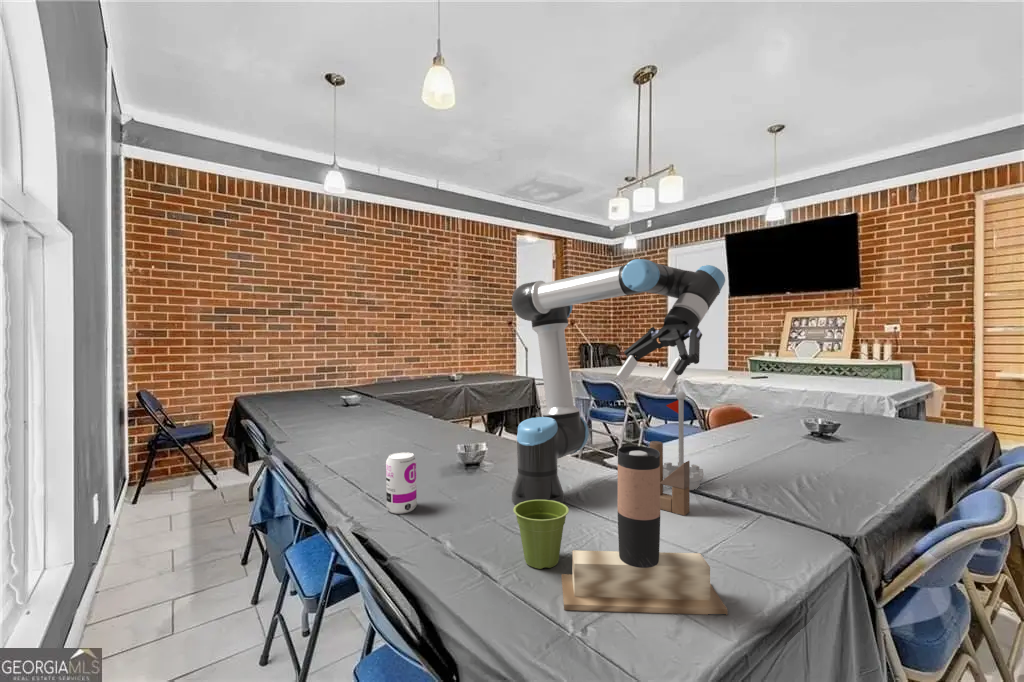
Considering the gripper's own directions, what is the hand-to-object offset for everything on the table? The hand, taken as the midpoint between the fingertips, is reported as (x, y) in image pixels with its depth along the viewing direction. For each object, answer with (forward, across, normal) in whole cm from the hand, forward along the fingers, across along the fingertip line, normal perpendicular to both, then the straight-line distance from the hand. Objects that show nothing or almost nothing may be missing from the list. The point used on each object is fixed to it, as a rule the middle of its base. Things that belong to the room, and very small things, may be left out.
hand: (642, 381), depth 102 cm
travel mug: (+33, -13, -11) cm, 37 cm away
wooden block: (+11, +12, -43) cm, 46 cm away
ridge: (+38, -13, -16) cm, 43 cm away
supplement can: (+55, +52, +1) cm, 75 cm away
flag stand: (-4, +23, -57) cm, 62 cm away
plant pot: (+43, +7, -10) cm, 45 cm away
